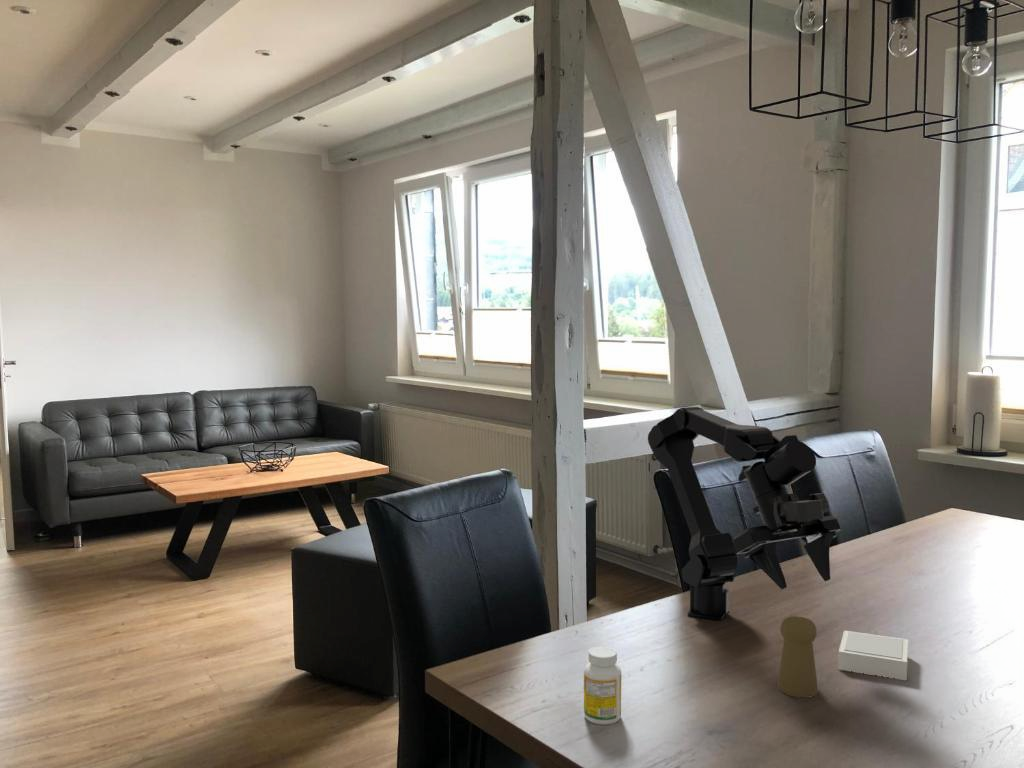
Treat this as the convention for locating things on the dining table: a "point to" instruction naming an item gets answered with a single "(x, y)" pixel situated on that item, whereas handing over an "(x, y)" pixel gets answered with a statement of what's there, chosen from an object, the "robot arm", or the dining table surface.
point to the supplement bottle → (602, 687)
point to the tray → (873, 655)
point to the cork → (798, 658)
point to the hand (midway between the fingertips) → (806, 584)
